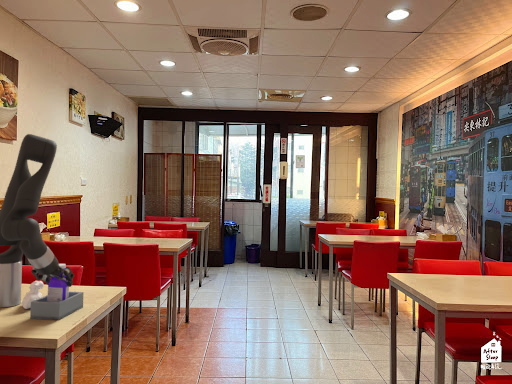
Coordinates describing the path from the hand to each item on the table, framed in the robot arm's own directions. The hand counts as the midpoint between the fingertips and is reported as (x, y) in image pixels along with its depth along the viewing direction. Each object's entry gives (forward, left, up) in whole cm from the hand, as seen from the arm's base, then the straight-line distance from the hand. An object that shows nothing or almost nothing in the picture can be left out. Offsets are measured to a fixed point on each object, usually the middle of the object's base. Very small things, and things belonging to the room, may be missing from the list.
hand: (60, 284), depth 145 cm
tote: (0, -1, -10) cm, 11 cm away
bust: (-15, +5, -11) cm, 19 cm away
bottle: (0, -2, -10) cm, 10 cm away
